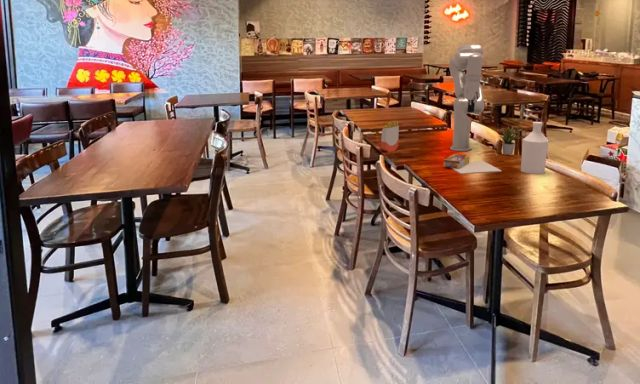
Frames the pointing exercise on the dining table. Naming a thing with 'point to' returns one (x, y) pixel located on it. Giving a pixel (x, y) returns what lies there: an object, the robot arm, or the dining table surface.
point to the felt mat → (476, 168)
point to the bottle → (534, 151)
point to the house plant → (508, 141)
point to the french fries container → (390, 137)
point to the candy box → (456, 161)
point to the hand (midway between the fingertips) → (470, 111)
